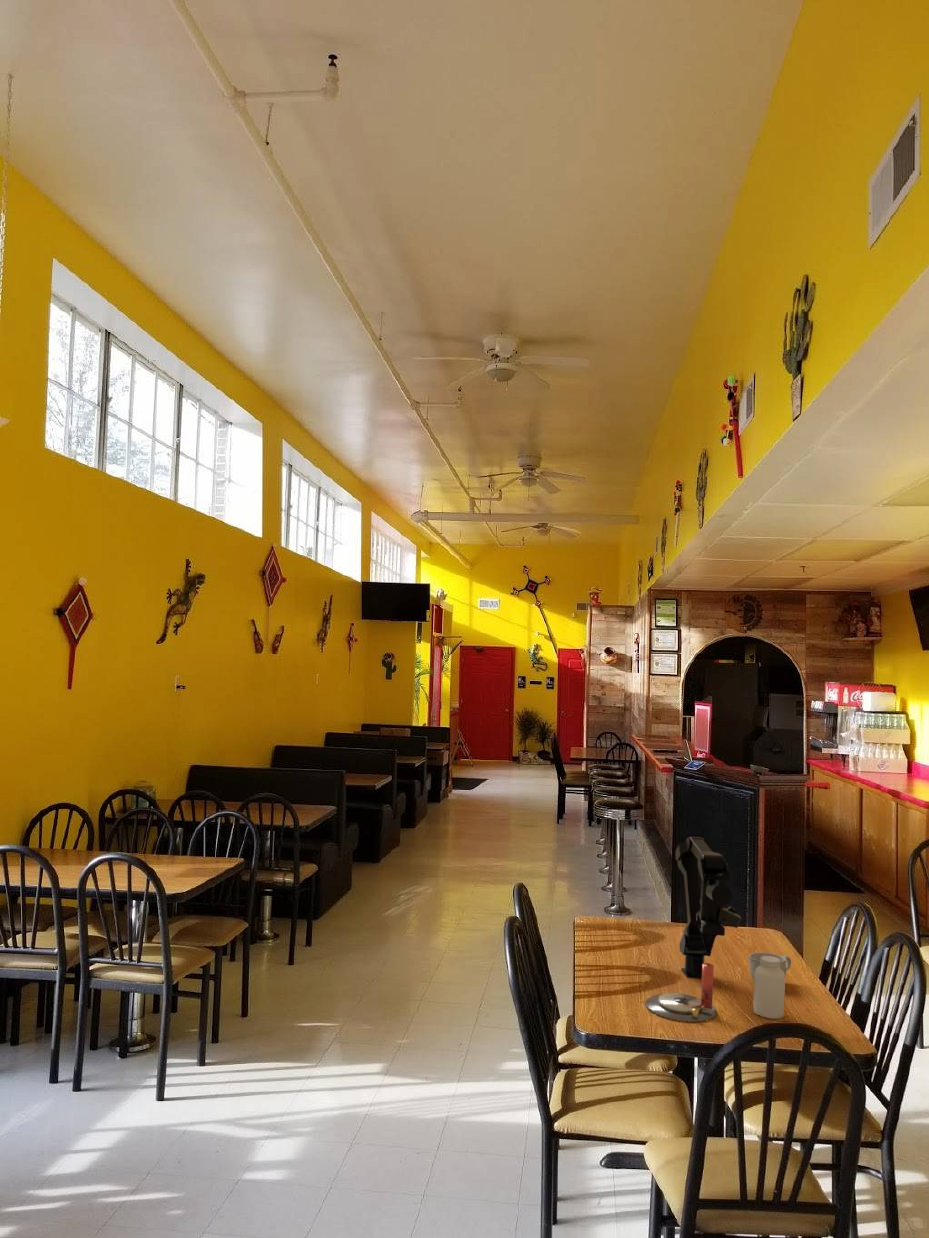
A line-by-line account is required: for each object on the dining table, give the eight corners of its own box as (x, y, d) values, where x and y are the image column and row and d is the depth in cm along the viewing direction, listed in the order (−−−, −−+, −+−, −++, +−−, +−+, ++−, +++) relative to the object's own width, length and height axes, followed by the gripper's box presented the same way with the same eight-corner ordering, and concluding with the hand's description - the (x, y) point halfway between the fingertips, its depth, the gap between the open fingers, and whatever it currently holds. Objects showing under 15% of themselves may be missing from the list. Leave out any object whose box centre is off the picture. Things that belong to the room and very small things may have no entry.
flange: (654, 1007, 246) (655, 962, 246) (663, 994, 256) (665, 950, 257) (710, 1019, 239) (711, 972, 240) (717, 1004, 250) (719, 960, 251)
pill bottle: (772, 1021, 242) (774, 964, 243) (747, 1011, 249) (748, 956, 249) (789, 1016, 247) (791, 960, 248) (764, 1006, 253) (766, 952, 254)
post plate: (637, 995, 257) (638, 984, 258) (703, 996, 258) (703, 985, 259) (655, 1021, 238) (656, 1009, 239) (726, 1023, 240) (726, 1011, 240)
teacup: (759, 990, 267) (760, 962, 267) (741, 977, 277) (742, 950, 278) (802, 988, 269) (803, 961, 270) (782, 976, 280) (783, 950, 280)
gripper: (744, 907, 253) (742, 964, 252) (735, 895, 272) (732, 948, 270) (703, 903, 255) (701, 960, 254) (697, 891, 274) (694, 944, 272)
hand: (708, 953), depth 262 cm, fingers closed
